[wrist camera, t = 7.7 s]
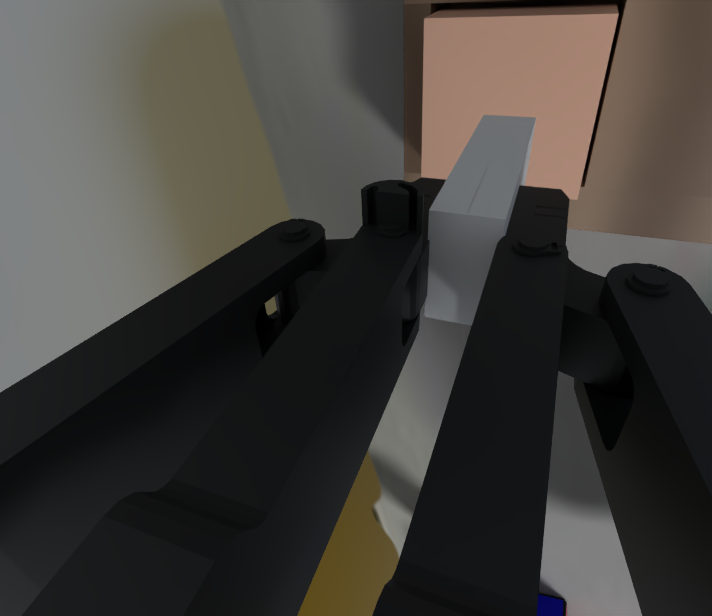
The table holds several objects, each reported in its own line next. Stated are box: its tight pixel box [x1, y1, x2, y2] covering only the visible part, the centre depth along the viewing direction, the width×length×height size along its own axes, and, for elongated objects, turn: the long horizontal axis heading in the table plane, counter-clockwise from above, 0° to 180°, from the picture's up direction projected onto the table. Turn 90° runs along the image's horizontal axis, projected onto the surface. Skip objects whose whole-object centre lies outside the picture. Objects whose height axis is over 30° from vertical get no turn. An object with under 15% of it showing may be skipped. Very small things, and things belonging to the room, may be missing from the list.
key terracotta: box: [421, 4, 619, 200], centre depth 21 cm, size 7×7×3 cm
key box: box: [404, 0, 712, 244], centre depth 22 cm, size 24×12×6 cm, turn 95°
